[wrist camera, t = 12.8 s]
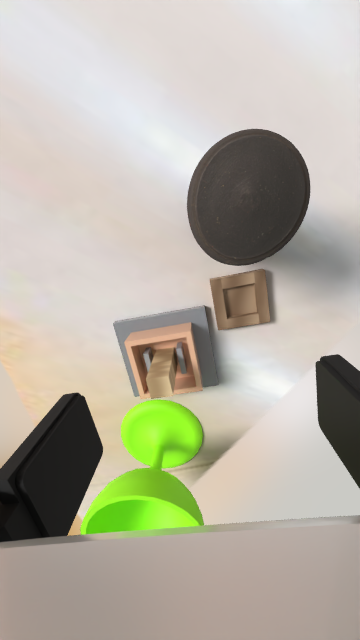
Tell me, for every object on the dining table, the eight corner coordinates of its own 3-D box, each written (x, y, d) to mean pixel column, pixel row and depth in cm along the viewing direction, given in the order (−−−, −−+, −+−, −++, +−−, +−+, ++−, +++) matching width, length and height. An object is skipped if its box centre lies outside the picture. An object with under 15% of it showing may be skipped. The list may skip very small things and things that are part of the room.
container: (265, 217, 35) (346, 193, 16) (219, 264, 38) (243, 291, 19) (223, 170, 34) (258, 84, 15) (177, 222, 36) (157, 205, 17)
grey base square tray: (204, 305, 40) (205, 314, 35) (217, 381, 44) (220, 399, 39) (115, 321, 42) (104, 332, 37) (136, 392, 46) (129, 411, 41)
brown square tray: (262, 268, 37) (265, 270, 36) (267, 318, 40) (270, 321, 38) (209, 279, 38) (210, 280, 37) (217, 327, 41) (218, 330, 39)
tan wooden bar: (174, 346, 40) (168, 375, 32) (177, 363, 41) (173, 395, 33) (156, 349, 41) (145, 379, 32) (160, 365, 42) (151, 398, 33)
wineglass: (116, 457, 51) (76, 568, 34) (126, 391, 46) (84, 483, 29) (193, 473, 51) (191, 591, 34) (211, 409, 46) (220, 510, 29)
